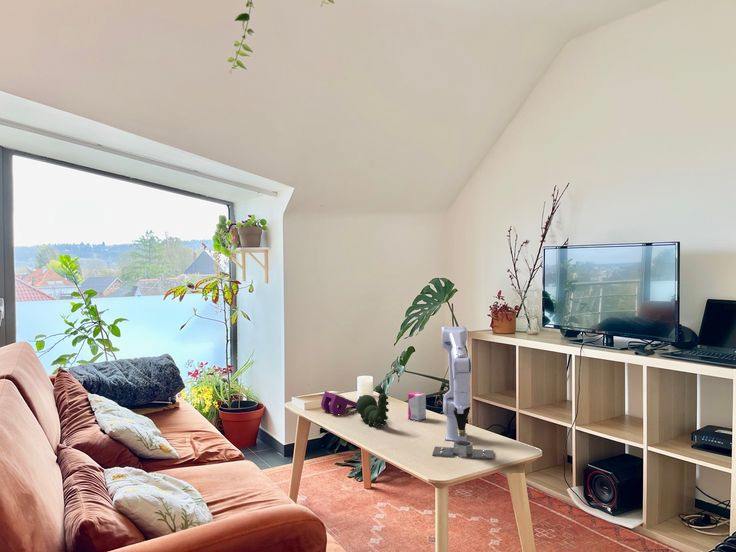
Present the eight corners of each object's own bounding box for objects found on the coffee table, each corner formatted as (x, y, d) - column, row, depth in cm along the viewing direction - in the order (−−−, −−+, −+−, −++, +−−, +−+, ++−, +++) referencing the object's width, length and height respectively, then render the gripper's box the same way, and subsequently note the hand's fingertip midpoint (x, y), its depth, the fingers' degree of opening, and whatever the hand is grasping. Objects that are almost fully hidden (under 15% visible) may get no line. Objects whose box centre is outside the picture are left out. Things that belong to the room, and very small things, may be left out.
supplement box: (426, 419, 251) (426, 393, 251) (418, 421, 247) (417, 395, 246) (416, 416, 255) (415, 391, 255) (407, 419, 251) (407, 393, 250)
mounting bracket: (347, 419, 274) (318, 408, 264) (353, 402, 276) (325, 391, 266) (359, 423, 266) (329, 412, 256) (365, 406, 268) (336, 394, 258)
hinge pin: (458, 433, 208) (457, 412, 208) (466, 434, 207) (465, 412, 207) (456, 436, 205) (455, 414, 205) (464, 436, 204) (464, 414, 204)
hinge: (432, 455, 204) (432, 444, 204) (435, 448, 212) (434, 438, 212) (493, 460, 199) (493, 448, 199) (493, 452, 207) (493, 441, 207)
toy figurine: (393, 432, 238) (368, 412, 260) (395, 388, 236) (369, 372, 258) (373, 435, 234) (349, 415, 256) (374, 391, 232) (350, 374, 254)
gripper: (452, 386, 213) (452, 422, 214) (448, 395, 199) (448, 433, 200) (471, 386, 212) (471, 423, 212) (469, 396, 197) (469, 434, 198)
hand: (462, 428), depth 206 cm, fingers closed on hinge pin, 3 cm apart
